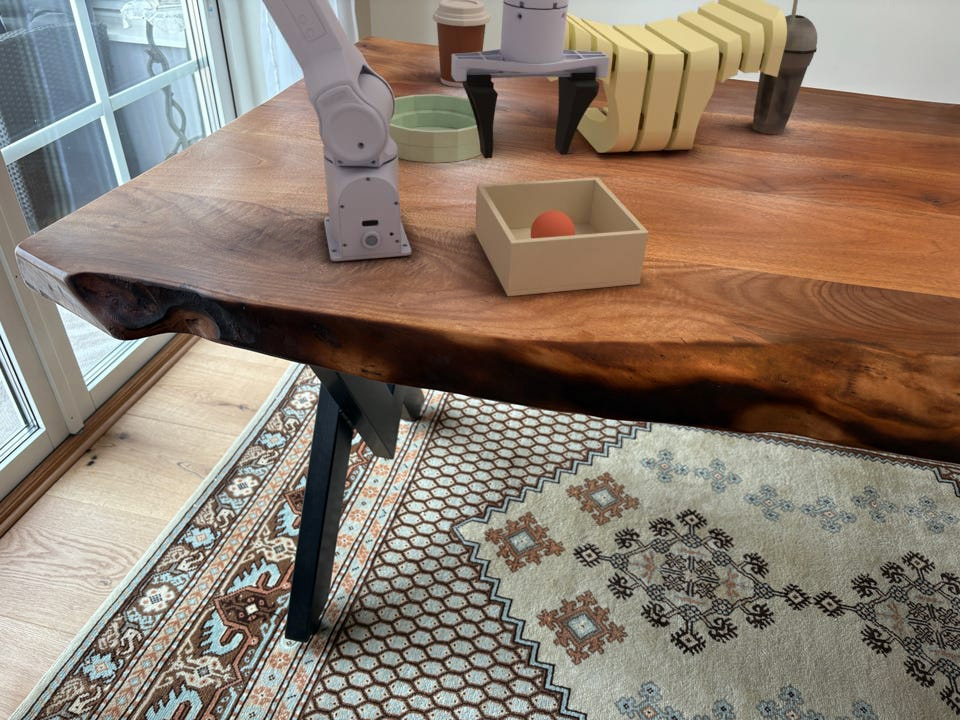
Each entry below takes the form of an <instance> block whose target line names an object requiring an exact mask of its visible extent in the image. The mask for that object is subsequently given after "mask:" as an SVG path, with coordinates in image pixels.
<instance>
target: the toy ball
mask: <svg viewBox="0 0 960 720" xmlns="http://www.w3.org/2000/svg"><path fill="white" fill-rule="evenodd" d="M572 235H575V227H574V224H573V222H572V220H571V219H570V218H569V217H568V216H567V215H566V214H564V213H562V212H560V211H554V210H552V211H547V212H544V213H542V214H540V215H539V216H538V217H537V218H536V219H535V221H534V222H533V224H532V227H531V239H533V238H546V237H559V236H572Z"/></svg>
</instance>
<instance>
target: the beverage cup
mask: <svg viewBox="0 0 960 720" xmlns="http://www.w3.org/2000/svg"><path fill="white" fill-rule="evenodd" d="M798 3H799V0H793V2H792V9H791V14H788V15H785V18H786V23H787V38H786V44H785V48H784V52H783V56H782V60H781V64H780V68H779V72H778V76H777V77H775V76H772V75H768V74H764V73H763V72H761V71H759V79H758V84H757V91H756V98H755V104H754V110H753V116H752V117H753V120H752V126H751V128H752V129H753V130H754V131H755V132H759V133H761V134H766V135H781V134H783V133H784V132H785V128H786V126H787V123H788V122H789V120H790V117H791V115H792V111H793V109H794V106H795V103H796V100H797V98H798V95H799V93H800V89H801V86H802V85H803V84H802V83H803V81H804V79H805V76H806V73H807V70H808V67H810V65H811V63H812V60H813V58H814V55H815V53H817V49H818V47H817V45H818V32H817V29H816V27H815V25H814V23H813V22H812V21H811V20H810V19H809V18H808V17H806V16H805V15H801V14H797V9H798Z"/></svg>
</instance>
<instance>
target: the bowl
mask: <svg viewBox="0 0 960 720" xmlns="http://www.w3.org/2000/svg"><path fill="white" fill-rule="evenodd" d="M389 135H390V137H391V138H392V140H393V141H394V142H395V143H396V145H397V146H398V159H401V160H406V161H409V162H419V163H428V164H429V163H431V164H433V163H434V164H438V163H439V164H440V163H455V162H463V161H465V160H470V159H475V158H477V157H479V156H481V155H482V153H481V152H480V141H479V135H478V129H477V125H476V121H475V117H474V114H473V110H472V107H471V104H470V102H469V99H468V97H467V98H466V97H462V96H457V95H448V94H447V95H446V94H438V93H437V94H436V93H432V94H431V93H429V94H410V95H404V96H397V97H395V111H394V115H393V117H392V119H391V122H390V127H389Z"/></svg>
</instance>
